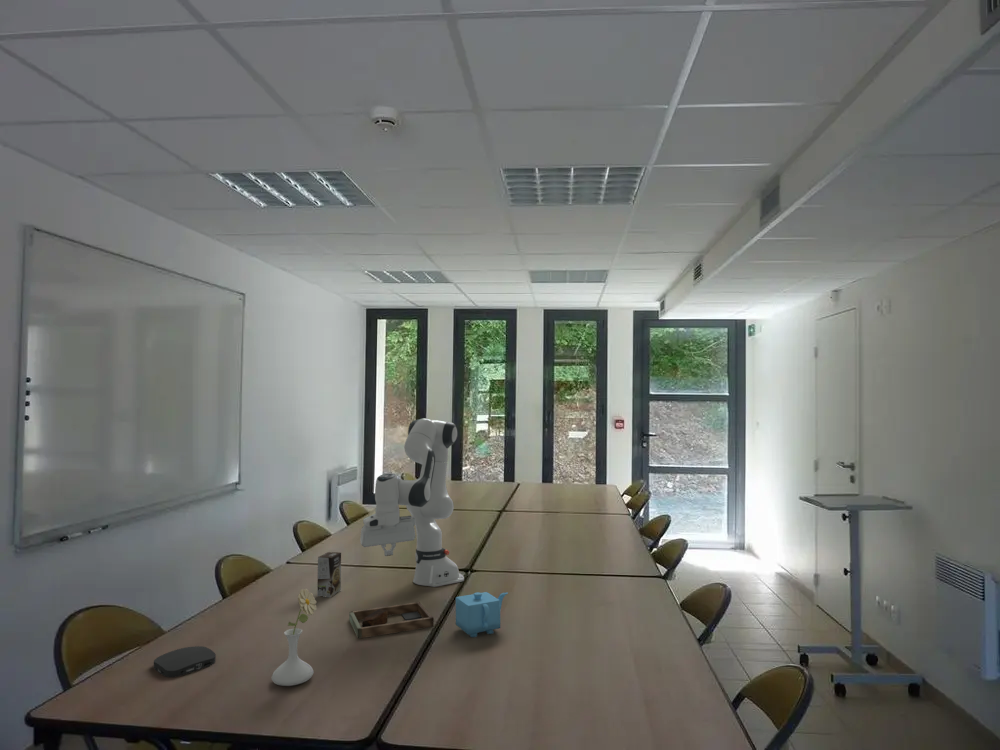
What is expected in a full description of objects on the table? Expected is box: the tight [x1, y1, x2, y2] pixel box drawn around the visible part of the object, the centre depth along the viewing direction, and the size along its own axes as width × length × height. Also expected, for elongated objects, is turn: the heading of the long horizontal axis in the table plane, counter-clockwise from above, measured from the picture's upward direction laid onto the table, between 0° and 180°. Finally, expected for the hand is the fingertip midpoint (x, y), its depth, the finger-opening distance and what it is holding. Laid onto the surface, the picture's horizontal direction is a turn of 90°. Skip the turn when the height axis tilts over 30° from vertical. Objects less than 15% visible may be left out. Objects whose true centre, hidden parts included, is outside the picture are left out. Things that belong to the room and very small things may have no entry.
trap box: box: [348, 601, 435, 639], centre depth 214 cm, size 26×18×3 cm
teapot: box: [455, 591, 509, 638], centre depth 208 cm, size 18×16×13 cm
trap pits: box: [400, 611, 422, 621], centre depth 217 cm, size 6×14×1 cm, turn 23°
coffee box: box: [316, 551, 342, 598], centre depth 247 cm, size 9×6×16 cm
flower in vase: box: [270, 588, 318, 687], centre depth 171 cm, size 13×11×25 cm
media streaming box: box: [153, 645, 216, 678], centre depth 181 cm, size 15×15×3 cm
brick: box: [361, 609, 389, 628], centre depth 210 cm, size 11×4×5 cm, turn 159°
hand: (388, 555), depth 222 cm, fingers closed
